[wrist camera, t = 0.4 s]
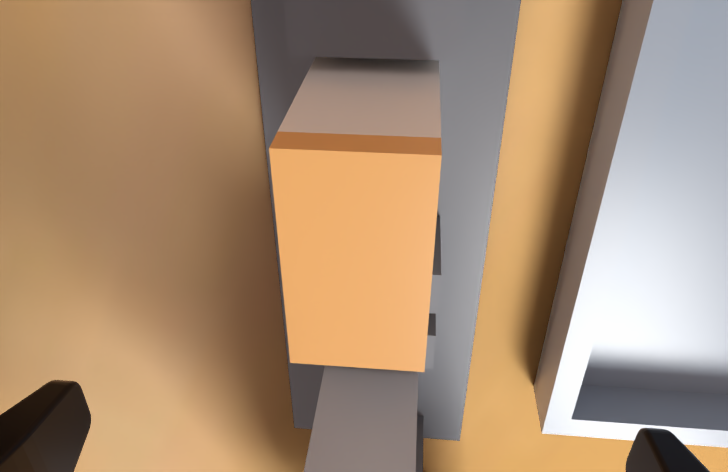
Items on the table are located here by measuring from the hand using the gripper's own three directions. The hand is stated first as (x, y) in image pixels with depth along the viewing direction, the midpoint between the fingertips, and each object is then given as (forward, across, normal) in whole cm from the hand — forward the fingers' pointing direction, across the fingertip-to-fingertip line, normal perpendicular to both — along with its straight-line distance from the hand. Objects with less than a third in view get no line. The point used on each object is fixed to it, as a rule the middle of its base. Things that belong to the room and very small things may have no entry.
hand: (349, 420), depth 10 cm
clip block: (+13, 0, +6) cm, 14 cm away
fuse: (+12, 0, +11) cm, 17 cm away
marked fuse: (+12, 0, 0) cm, 12 cm away
